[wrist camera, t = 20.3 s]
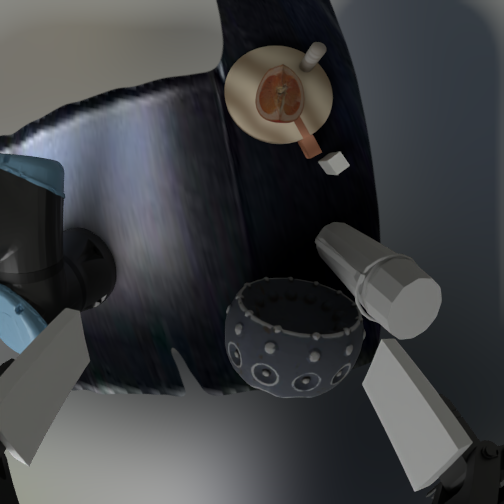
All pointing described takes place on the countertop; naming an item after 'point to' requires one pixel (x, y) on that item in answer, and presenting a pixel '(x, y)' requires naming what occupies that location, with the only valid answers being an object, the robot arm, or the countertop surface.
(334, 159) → the grey rectangular block
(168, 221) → the countertop surface
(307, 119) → the beige round piece
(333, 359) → the grey dotted bowl
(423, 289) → the water bottle
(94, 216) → the countertop surface
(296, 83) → the fruit slice
